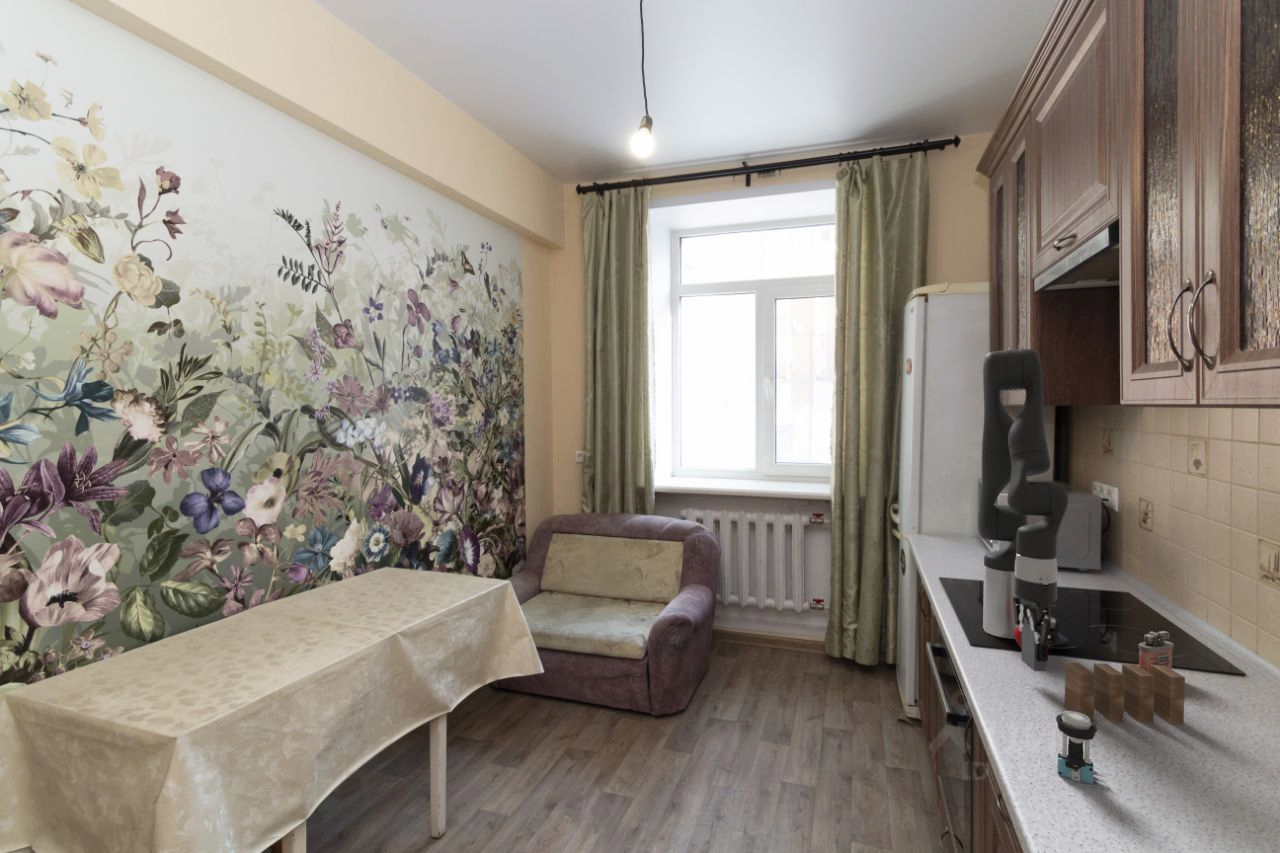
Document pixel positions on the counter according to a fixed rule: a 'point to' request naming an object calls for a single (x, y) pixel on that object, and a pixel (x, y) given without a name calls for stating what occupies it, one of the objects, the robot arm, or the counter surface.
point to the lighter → (1155, 651)
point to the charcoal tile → (1031, 649)
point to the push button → (1076, 747)
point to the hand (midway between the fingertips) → (1034, 654)
